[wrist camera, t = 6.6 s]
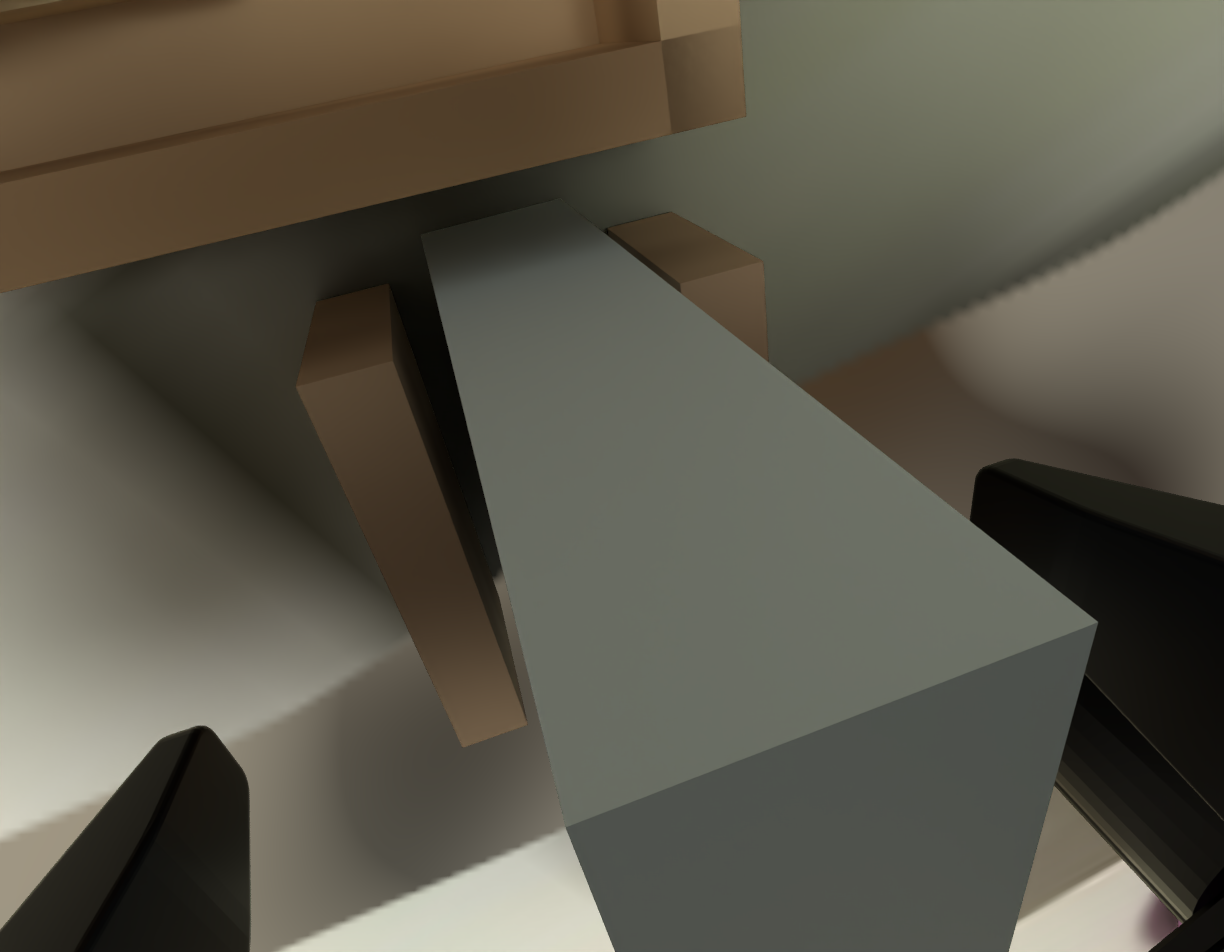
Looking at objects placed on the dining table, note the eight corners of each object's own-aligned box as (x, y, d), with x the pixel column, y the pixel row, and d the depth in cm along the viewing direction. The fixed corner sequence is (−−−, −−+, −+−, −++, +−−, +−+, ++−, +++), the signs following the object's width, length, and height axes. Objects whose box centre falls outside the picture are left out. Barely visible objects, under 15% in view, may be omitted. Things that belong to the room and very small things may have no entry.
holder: (709, 529, 14) (783, 635, 11) (446, 614, 13) (462, 747, 11) (671, 211, 10) (763, 261, 8) (316, 302, 10) (295, 386, 7)
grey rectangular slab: (640, 569, 14) (948, 1172, 6) (541, 603, 14) (742, 1274, 6) (560, 198, 10) (1098, 624, 3) (420, 234, 10) (565, 829, 2)
